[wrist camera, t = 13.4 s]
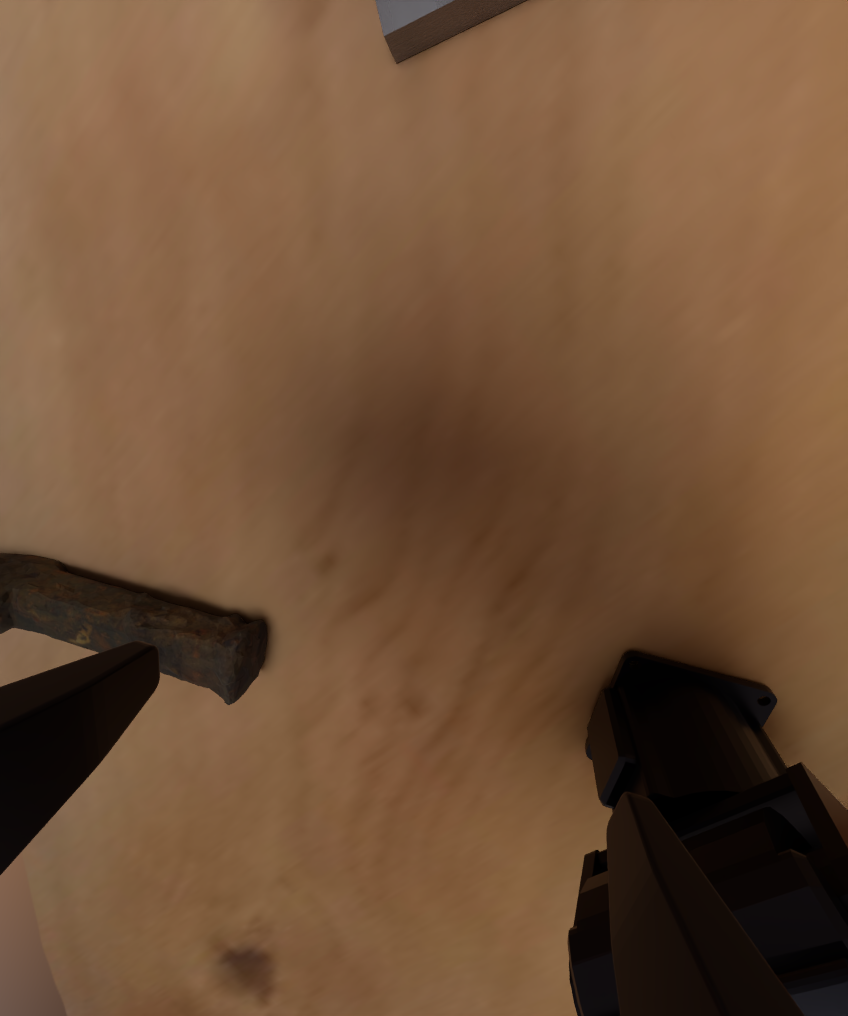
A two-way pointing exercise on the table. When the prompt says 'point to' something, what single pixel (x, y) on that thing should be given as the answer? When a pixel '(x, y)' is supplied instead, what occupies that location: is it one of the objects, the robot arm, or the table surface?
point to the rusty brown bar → (131, 624)
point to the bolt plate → (431, 21)
